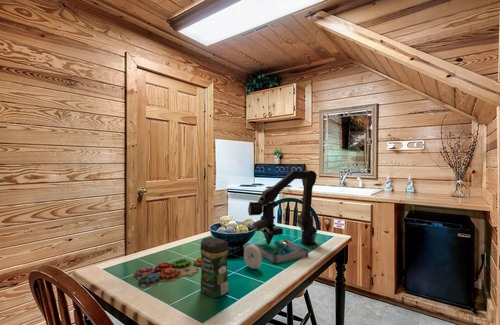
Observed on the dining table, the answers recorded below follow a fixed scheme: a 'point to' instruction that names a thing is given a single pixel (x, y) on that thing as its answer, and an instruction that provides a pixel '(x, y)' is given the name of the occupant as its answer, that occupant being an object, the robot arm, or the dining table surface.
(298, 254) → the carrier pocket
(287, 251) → the gear
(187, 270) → the gear puzzle
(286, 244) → the gold rounded dome
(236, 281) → the dining table surface
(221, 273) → the coffee jar
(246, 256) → the donut
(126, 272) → the dining table surface
